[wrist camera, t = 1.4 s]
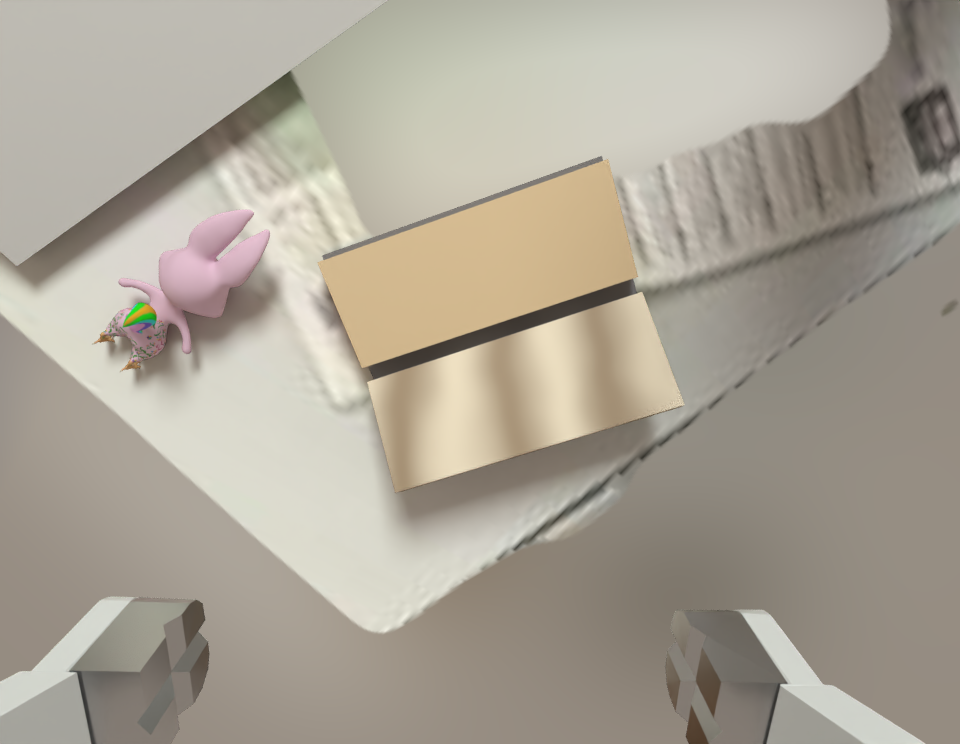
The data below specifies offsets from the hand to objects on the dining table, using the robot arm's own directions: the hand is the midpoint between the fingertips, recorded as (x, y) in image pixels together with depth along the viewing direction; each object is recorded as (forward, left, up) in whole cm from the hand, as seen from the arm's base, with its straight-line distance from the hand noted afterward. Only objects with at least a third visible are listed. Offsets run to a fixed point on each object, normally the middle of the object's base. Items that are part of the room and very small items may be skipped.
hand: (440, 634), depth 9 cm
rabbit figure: (+17, -8, -30) cm, 35 cm away
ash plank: (-1, +6, -27) cm, 27 cm away
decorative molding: (+11, -21, -30) cm, 39 cm away
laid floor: (-1, +2, -30) cm, 30 cm away
